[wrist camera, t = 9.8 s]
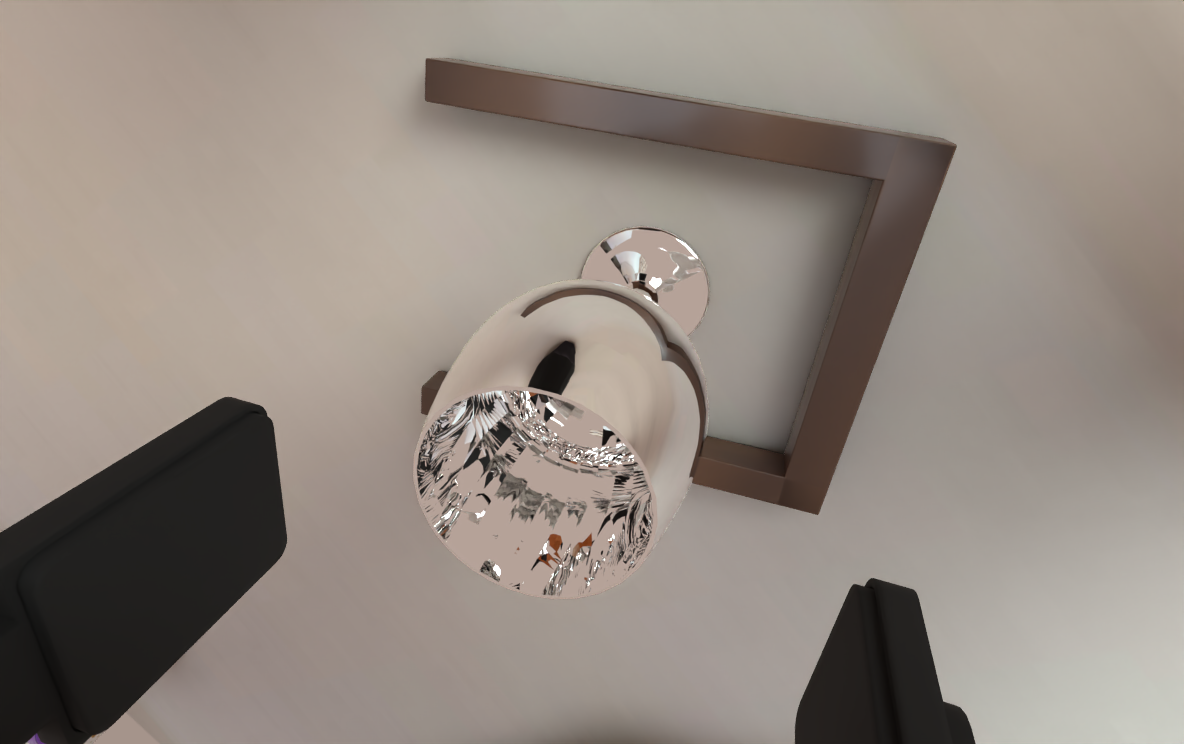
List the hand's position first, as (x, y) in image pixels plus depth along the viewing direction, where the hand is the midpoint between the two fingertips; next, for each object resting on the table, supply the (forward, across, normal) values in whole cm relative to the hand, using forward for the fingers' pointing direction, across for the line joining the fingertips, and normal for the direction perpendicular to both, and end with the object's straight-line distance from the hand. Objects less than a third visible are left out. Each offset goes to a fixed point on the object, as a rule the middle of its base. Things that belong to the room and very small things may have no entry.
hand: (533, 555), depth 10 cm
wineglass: (+14, +1, 0) cm, 14 cm away
